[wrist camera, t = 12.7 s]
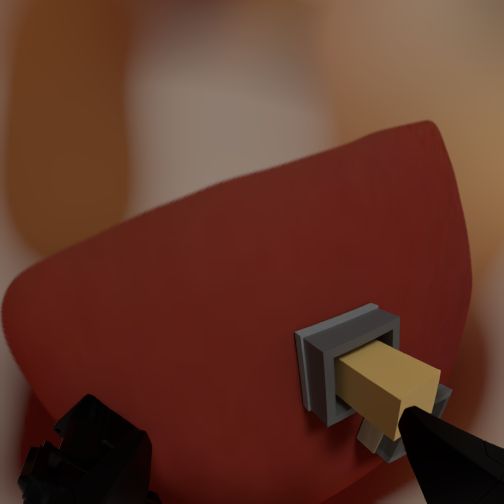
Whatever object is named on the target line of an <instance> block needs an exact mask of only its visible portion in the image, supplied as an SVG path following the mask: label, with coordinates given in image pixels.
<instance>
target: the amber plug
mask: <svg viewBox="0 0 504 504" xmlns="http://www.w3.org/2000/svg"><path fill="white" fill-rule="evenodd" d="M440 372H441V371H440V370H438V369H436V368H434V367H432V366H430V365H427V364H425V363H423V362H421V361H419V360H417V359H415V358H413V357H411V356H409V355H407V354H405V353H402V352H400V351H398V350H396V349H394V348H392V347H390V346H388V345H386V344H384V343H382V342H380V341H378V340H376V339H373V340H371V341H369V342H367V343H365V344H363V345H361V346H359V347H356V348H354V349H352V350H350V351H348V352H346V353H343V354H341V355H339V356H337V357H334V376H335V393H336V394H337V395H338V396H339V397H340V398H341V399H343V400H344V401H345V402H346V403H347V404H348V405H350V406H351V407H352V408H353V409H354V410H356V411H357V412H358V413H359V414H360V415H362V416H363V417H364V418H365V419H366V420H368V421H369V422H370V423H371V424H373V425H374V426H375V427H376V428H378V429H379V430H380V431H381V432H383V433H384V434H385V435H386V436H388V437H389V438H390V439H391V440H393V441H395V440H397V439H398V438H399V437H401V435H400V432H399V429H398V422H399V420H400V417H401V415H402V413H403V411H404V409H405V408H407V407H410V406H417V407H419V408H421V409H423V410H424V411H426V412H428V413H430V414H431V413H432V409H433V405H434V401H435V397H436V392H437V387H438V383H439V377H440Z"/></svg>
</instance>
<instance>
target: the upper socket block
mask: <svg viewBox="0 0 504 504" xmlns="http://www.w3.org/2000/svg"><path fill="white" fill-rule="evenodd" d="M451 392H452V390H451V389H449V388H447V387H445V386H443V385H441V384H439V383H438V387H437V392H436V397H435V401H434V405H433V409H432V413H431V414H432V415H434V416H436V417H438V418H441V416H442V413H443V411H444V409H445V407H446V404H447V402H448V400H449V397H450V395H451ZM357 439H358V440H359V441H360V442H361V443H362V444H363V445H364V446H365V447H367V448H368V449H369V450H370V451H371V452H372V453H377V454H378V455H379V456H380V457H382V458H383V459H384V460H385V461H386V462H387V463H390V462H392V461H394V460H396V459H398V458H400V457H402V456H404V455H406V451H405V448H404V445H403V441H402V438H401V437H399V438H398V439H397V440H395V441H393V440H391V439H390V438H389V437H388V436H386V435H385V434H384V433H383V432H381V431H380V430H379V429H378V428H376V427H375V426H374V425H373V424H371V423H370V422H369V421H368V420H366V419H365V418H364V420H363V423H362V425H361V428H360V430H359V433H358V435H357Z"/></svg>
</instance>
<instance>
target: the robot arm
mask: <svg viewBox="0 0 504 504" xmlns="http://www.w3.org/2000/svg"><path fill="white" fill-rule="evenodd" d="M88 399H90V400H91V401H92V402H90V401H89V400H88ZM53 429H54V431H55V432H56V433H57V434H58V435H59V436H61V437H62V438H63V440H62V442H61V446H60V449H58V448H56V447H54V446H53V444H52V443H50V442H49V441H47V440H46V441H45V443H44V445H43V446H41V445H40V447H31V448H30V450H29V452H28V455H27V457H26V460H25V462H24V465H23V468H22V471H21V473H20V477H19V479H18V482H17V484H18V486H19V488H20V490H21V492H22V493H23V494H22V499H24V502H23V504H162V503H161V501H160V499H159V496H158V494H157V493H155V492H152V491H148V488H149V481H150V468H151V457H152V444H151V442H150V439H149V437H148V435H147V432H146V431H144V430H138V429H137V428H135V427H134V426H133V425H132V424H130V423H129V422H127V421H126V420H125V419H123V418H122V417H121V416H119V415H118V414H117V413H115V412H114V411H113V410H111V409H109V408H108V407H107V406H105V405H104V404H103V403H102V402H100V401H99V400H98V399H97V398H95V397H94V396H93V395H90V394H87V395H85V396H84V397H83V398H82V399H81V400H80V401H79V402H78V403H77V404H76V405H75V406H74V407H73V408H72V409H71V410H70V411H69V412H67V413H66V414H65V415H64V416H63V417H62V418H61V419H60V420H59V421H58V422H57V423H56V424H55V425H54V428H53ZM59 429H60V430H59ZM398 429H399V432H400V435H401V438H402V441H403V445H404V448H405V451H406V454H407V457H408V459H409V462H410V464H411V467H412V469H413V471H414V474H415V476H416V478H417V480H418V483H419V485H420V488H421V490H422V492H423V495H424V497H425V500H426V502H427V504H504V448H501V447H498V446H496V445H494V444H491V443H489V442H487V441H483V440H482V439H480V438H478V437H476V436H474V435H472V434H470V433H467V432H465V431H464V430H461V429H459V428H457V427H455V426H453V425H451V424H449V423H447V422H446V421H443V420H442V419H440V418H438V417H436V416H434V415H432V414H430V413H428V412H426V411H424V410H423V409H421V408H419V407H417V406H410V407H407V408H405V409H404V411H403V413H402V415H401V417H400V420H399V422H398Z"/></svg>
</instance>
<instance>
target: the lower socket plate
mask: <svg viewBox="0 0 504 504" xmlns="http://www.w3.org/2000/svg"><path fill="white" fill-rule="evenodd" d="M399 334H400V317H399V316H396V315H394V314H391V313H388V312H385V311H383V310H380V309H378V305H375V304H372V303H370V304H367V305H365V306H362V307H360V308H357V309H355V310H352V311H350V312H347V313H345V314H342V315H340V316H337V317H335V318H332V319H329V320H327V321H324V322H321V323H318V324H316V325H313V326H310V327H307V328H304V329H302V330H299V331H296V332H295V338H296V346H297V354H298V362H299V370H300V378H301V386H302V395H303V404H304V407H305V408H306V409H307V410H308V411H311V410H312V411H313V412H314V413H315V414H316V415H317V417H318V418H319V419H320V420H321V421H322V422H323V423H324V424H325V425H326V426H327V427H329V426H331V425H333V424H335V423H337V422H339V421H341V420H343V419H345V418H347V417H349V416H350V415H352V414H354V413H356V412H357V411H356V410H354V409H353V408H352V407H351V406H350V405H348V404H347V403H346V402H345V401H344V400H343V399H341V398H340V397H339V396H338V395H337V394H336V393H335V376H334V357H337V356H339V355H341V354H343V353H346V352H348V351H350V350H352V349H354V348H356V347H359V346H361V345H363V344H365V343H367V342H369V341H371V340H373V339H376V340H378V341H380V342H382V343H384V344H386V345H388V346H390V347H392V348H394V349H396V350H398V351H399Z"/></svg>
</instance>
